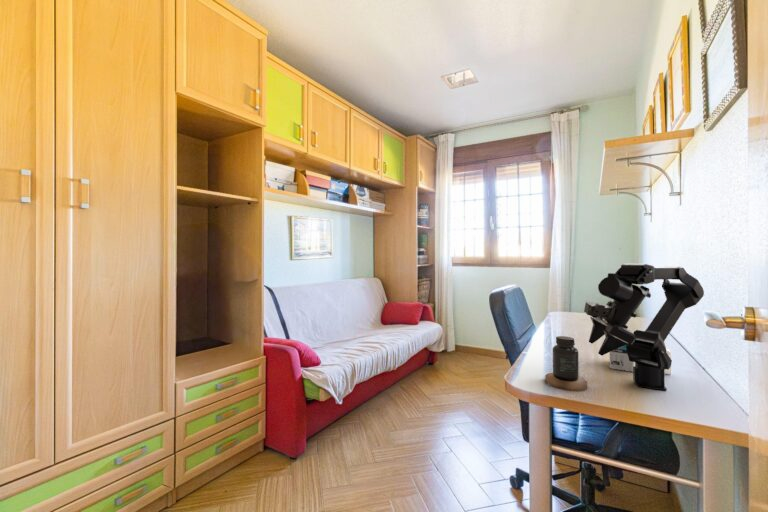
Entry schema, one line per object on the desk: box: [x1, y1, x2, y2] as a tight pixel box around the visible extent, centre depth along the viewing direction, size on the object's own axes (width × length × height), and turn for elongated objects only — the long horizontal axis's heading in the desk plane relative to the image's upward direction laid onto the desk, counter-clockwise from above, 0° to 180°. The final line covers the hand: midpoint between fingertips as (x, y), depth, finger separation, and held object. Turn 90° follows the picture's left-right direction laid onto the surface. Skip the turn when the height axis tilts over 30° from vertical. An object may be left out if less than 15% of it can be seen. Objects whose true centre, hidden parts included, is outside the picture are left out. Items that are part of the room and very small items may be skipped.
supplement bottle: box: [552, 335, 580, 381], centre depth 98 cm, size 7×7×12 cm
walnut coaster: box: [544, 372, 588, 392], centre depth 97 cm, size 11×11×2 cm
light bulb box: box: [609, 345, 635, 373], centre depth 114 cm, size 11×7×11 cm, turn 143°
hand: (594, 348), depth 98 cm, fingers open, 9 cm apart
